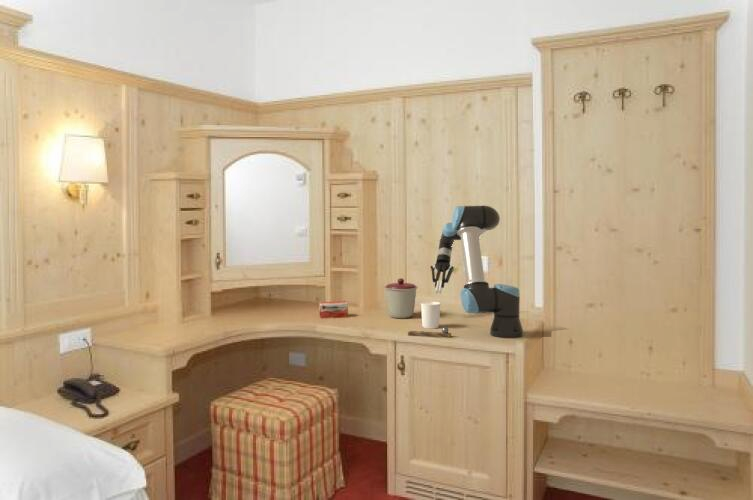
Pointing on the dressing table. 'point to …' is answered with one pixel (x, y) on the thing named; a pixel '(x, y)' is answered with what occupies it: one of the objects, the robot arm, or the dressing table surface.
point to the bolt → (445, 330)
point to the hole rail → (428, 334)
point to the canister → (400, 299)
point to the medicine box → (333, 309)
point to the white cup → (430, 314)
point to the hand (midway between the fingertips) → (438, 291)
